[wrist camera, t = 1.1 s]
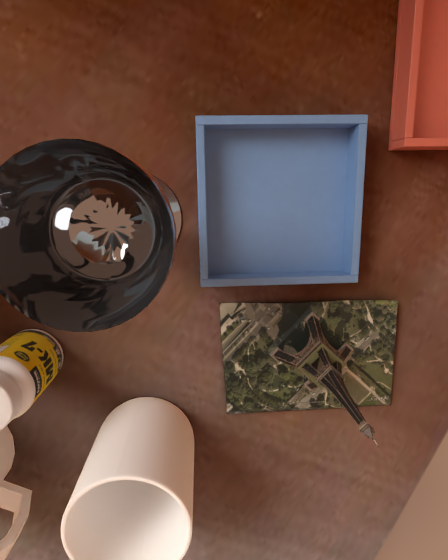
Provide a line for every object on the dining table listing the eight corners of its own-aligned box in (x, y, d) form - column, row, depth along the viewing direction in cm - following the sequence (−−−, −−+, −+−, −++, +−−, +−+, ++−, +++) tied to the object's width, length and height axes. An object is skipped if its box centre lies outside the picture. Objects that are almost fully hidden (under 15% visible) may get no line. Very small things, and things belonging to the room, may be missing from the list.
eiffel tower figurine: (223, 412, 35) (237, 544, 22) (219, 302, 32) (232, 375, 19) (388, 402, 35) (498, 523, 22) (395, 294, 33) (521, 358, 20)
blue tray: (195, 122, 29) (195, 115, 27) (354, 120, 30) (368, 114, 27) (200, 280, 32) (200, 287, 29) (346, 276, 33) (358, 282, 30)
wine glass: (65, 192, 30) (-66, 189, 15) (159, 148, 29) (119, 103, 15) (113, 284, 31) (38, 361, 17) (203, 244, 31) (205, 287, 17)
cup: (187, 387, 34) (182, 467, 24) (205, 503, 36) (207, 618, 27) (92, 400, 34) (47, 487, 24) (117, 516, 36) (86, 637, 26)
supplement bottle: (75, 365, 33) (34, 422, 25) (27, 389, 33) (-31, 454, 25) (44, 317, 32) (-10, 359, 24) (-6, 342, 32) (-77, 393, 24)
